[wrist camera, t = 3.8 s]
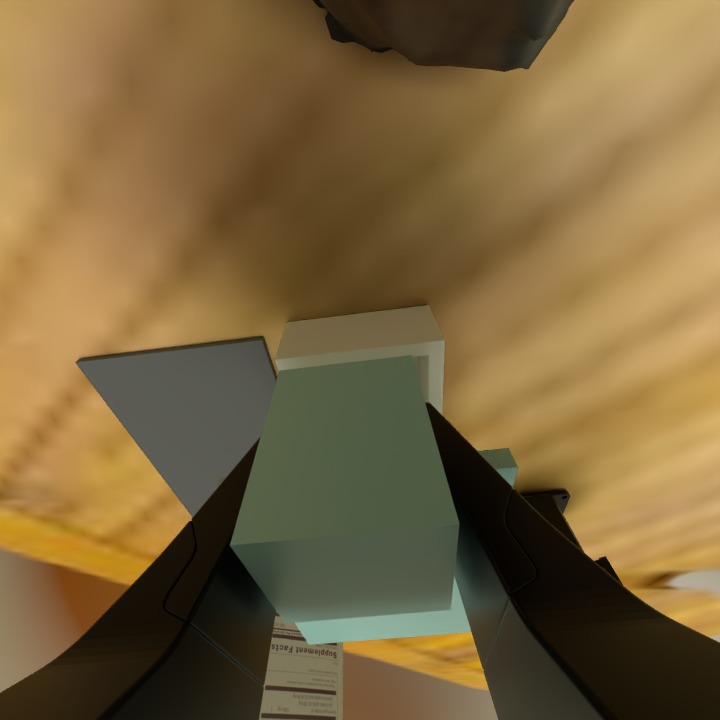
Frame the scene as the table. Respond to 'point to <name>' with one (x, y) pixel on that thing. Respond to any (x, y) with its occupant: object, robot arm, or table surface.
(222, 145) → the table surface
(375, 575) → the lid
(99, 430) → the table surface
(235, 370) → the mat
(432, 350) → the tub
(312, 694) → the supplement box
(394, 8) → the owl
